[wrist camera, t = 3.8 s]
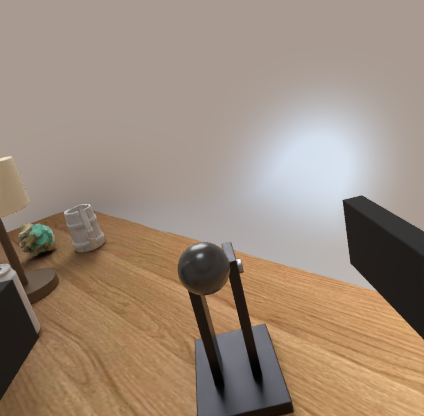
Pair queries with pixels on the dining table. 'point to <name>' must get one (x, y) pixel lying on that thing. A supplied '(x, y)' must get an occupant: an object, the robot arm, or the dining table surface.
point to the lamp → (5, 205)
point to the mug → (84, 228)
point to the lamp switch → (203, 268)
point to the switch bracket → (237, 361)
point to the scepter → (36, 239)
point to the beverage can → (6, 273)
